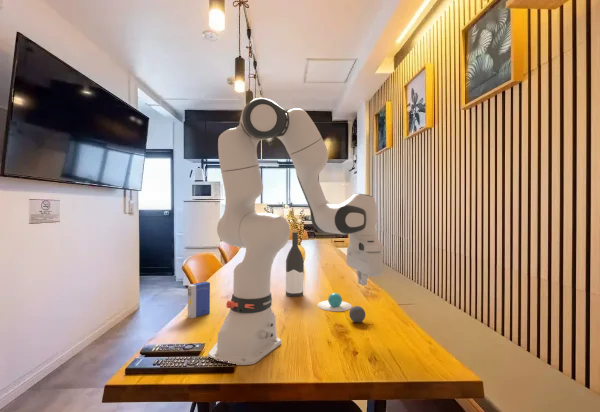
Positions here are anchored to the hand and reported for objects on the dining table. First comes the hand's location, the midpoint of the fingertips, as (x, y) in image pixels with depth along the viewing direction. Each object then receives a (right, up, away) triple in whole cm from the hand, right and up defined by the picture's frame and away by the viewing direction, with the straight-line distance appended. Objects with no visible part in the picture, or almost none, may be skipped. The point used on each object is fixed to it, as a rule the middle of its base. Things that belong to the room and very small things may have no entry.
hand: (362, 284), depth 109 cm
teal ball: (-6, -12, +24) cm, 28 cm away
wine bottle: (-23, -15, +41) cm, 50 cm away
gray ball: (0, -12, +7) cm, 14 cm away
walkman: (-58, -15, +13) cm, 62 cm away
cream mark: (-7, -15, +25) cm, 30 cm away
